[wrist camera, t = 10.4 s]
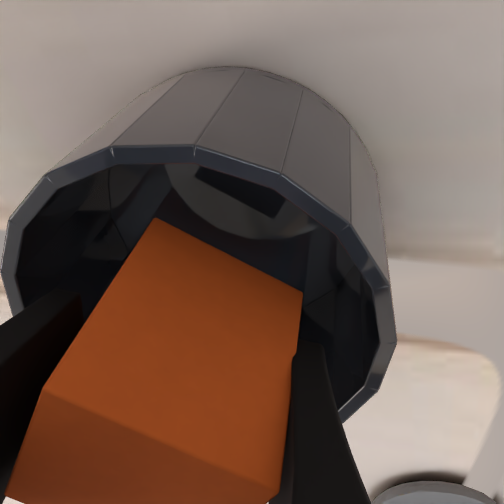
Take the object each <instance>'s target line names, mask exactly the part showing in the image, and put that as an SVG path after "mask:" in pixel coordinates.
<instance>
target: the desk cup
mask: <svg viewBox="0 0 504 504" xmlns="http://www.w3.org/2000/svg"><path fill="white" fill-rule="evenodd" d="M154 218H158V219H160V220H162V221H164V222H166V223H168V224H170V225H172V226H174V227H176V228H178V229H180V230H182V231H184V232H186V233H188V234H190V235H191V236H193V237H195V238H197V239H199V240H201V241H203V242H205V243H207V244H209V245H211V246H213V247H215V248H217V249H219V250H221V251H223V252H225V253H227V254H229V255H231V256H233V257H235V258H237V259H238V260H240V261H242V262H244V263H246V264H248V265H250V266H252V267H254V268H256V269H258V270H260V271H262V272H264V273H266V274H268V275H270V276H272V277H274V278H276V279H278V280H280V281H282V282H284V283H286V284H287V285H289V286H291V287H293V288H295V289H297V290H299V291H301V292H302V293H303V299H302V308H301V316H300V324H299V333H298V339H301V340H305V341H310V342H315V343H320V344H321V345H322V346H323V347H324V350H325V358H326V364H327V369H328V374H329V378H330V383H331V387H332V391H333V395H334V399H335V402H336V406H337V409H338V413H339V416H340V419H341V422H342V423H344V422H345V421H346V420H347V419H348V418H350V417H351V416H352V415H353V414H354V413H355V412H356V411H357V410H358V409H359V408H360V407H361V406H363V405H364V404H365V403H366V402H367V401H368V400H369V399H370V398H371V397H372V396H373V395H374V394H375V393H377V392H378V390H379V389H380V386H381V383H382V381H383V378H384V376H385V373H386V371H387V368H388V365H389V363H390V360H391V358H392V355H393V353H394V350H395V347H396V345H397V333H396V325H395V317H394V309H393V300H392V292H391V284H390V275H389V267H388V259H387V250H386V242H385V234H384V226H383V217H382V209H381V202H380V194H379V186H378V178H377V173H376V170H375V168H374V166H373V164H372V161H371V159H370V157H369V154H368V152H367V150H366V148H365V146H364V144H363V143H362V141H361V140H360V138H359V136H358V135H357V133H356V131H355V130H354V129H353V128H352V127H351V125H350V124H349V123H348V122H347V121H346V119H345V118H344V117H343V116H342V115H341V114H340V113H339V112H338V111H337V110H336V109H335V108H333V107H332V106H331V105H330V104H329V103H328V102H327V101H325V100H324V99H322V98H321V97H320V96H318V95H317V94H315V93H314V92H312V91H311V90H309V89H307V88H306V87H304V86H302V85H300V84H298V83H296V82H294V81H292V80H290V79H287V78H284V77H281V76H278V75H276V74H273V73H270V72H265V71H260V70H256V69H251V68H241V67H214V68H204V69H200V70H195V71H190V72H186V73H183V74H181V75H178V76H176V77H173V78H170V79H168V80H166V81H164V82H162V83H161V84H159V85H157V86H155V87H154V88H152V89H151V90H149V91H147V92H145V93H142V94H140V95H139V96H138V97H137V98H135V99H134V100H133V101H132V102H131V103H129V104H128V105H127V106H126V107H125V108H123V109H122V110H121V111H120V112H119V113H117V114H116V115H115V116H114V117H113V118H111V119H110V120H109V121H108V122H107V123H105V124H104V125H103V126H102V127H101V128H99V129H98V130H97V131H96V132H95V133H93V134H92V135H91V136H90V137H89V138H87V139H86V140H85V141H84V142H83V143H81V144H80V145H79V146H78V147H77V148H75V149H74V150H73V151H72V152H71V153H69V154H68V155H67V156H66V157H65V158H63V159H62V160H61V161H60V162H59V163H57V164H56V165H55V166H54V167H53V168H51V169H50V170H49V171H48V172H47V173H45V174H44V175H43V176H42V178H41V179H40V180H39V181H38V183H37V184H36V185H35V186H34V188H33V189H32V190H31V191H30V193H29V194H28V195H27V196H26V197H25V199H24V200H23V201H22V202H21V204H20V205H19V206H18V207H17V209H16V210H15V211H14V212H13V214H12V215H11V216H10V217H9V220H8V224H7V230H6V236H5V243H4V249H3V255H2V261H1V268H0V273H1V277H2V280H3V284H4V287H5V291H6V294H7V298H8V301H9V305H10V308H11V312H12V315H13V317H14V316H15V315H17V314H18V313H19V312H21V311H22V310H24V309H25V308H27V307H28V306H30V305H31V304H33V303H34V302H36V301H37V300H39V299H40V298H42V297H43V296H45V295H46V294H48V293H49V292H51V291H52V290H54V289H55V288H58V289H63V290H68V291H72V292H77V293H81V300H82V309H83V317H84V324H85V322H86V321H87V319H88V318H89V316H90V314H91V313H92V311H93V310H94V308H95V307H96V305H97V304H98V302H99V301H100V299H101V298H102V296H103V295H104V293H105V292H106V290H107V289H108V287H109V285H110V284H111V282H112V281H113V279H114V278H115V276H116V275H117V273H118V272H119V270H120V269H121V267H122V266H123V264H124V263H125V261H126V260H127V258H128V256H129V255H130V253H131V252H132V250H133V249H134V247H135V246H136V244H137V243H138V241H139V240H140V238H141V237H142V235H143V234H144V232H145V231H146V229H147V227H148V226H149V224H150V223H151V221H152V220H153V219H154Z"/></svg>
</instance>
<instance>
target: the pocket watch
mask: <svg viewBox="0 0 504 504" xmlns="http://www.w3.org/2000/svg"><path fill="white" fill-rule="evenodd" d="M372 504H497V503H496V502H495V501H493V500H492V499H491V498H489V497H488V496H486V495H485V494H484V493H482V492H479V491H476V490H474V489H471V488H468V487H466V486H463V485H460V484H455V483H448V482H442V481H418V482H410V483H403V484H400V485H397V486H394V487H392V488H389V489H387V490H385V491H384V492H383V493H381V494H380V495H378V496H377V497H376V498H375V499H374V501H373V502H372Z"/></svg>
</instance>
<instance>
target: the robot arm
mask: <svg viewBox="0 0 504 504" xmlns="http://www.w3.org/2000/svg"><path fill="white" fill-rule="evenodd" d="M83 325H84V317H83V309H82V300H81V293H77V292H72V291H68V290H63V289H58V288H55V289H54V290H52V291H51V292H49V293H48V294H46V295H45V296H43V297H42V298H40V299H39V300H37V301H36V302H34V303H33V304H31V305H30V306H28V307H27V308H25V309H24V310H22V311H21V312H19V313H18V314H17V315H15V316H14V317H12V318H11V319H9V320H8V321H6V322H5V323H3V324H2V325H0V504H2V503H3V501H4V499H5V497H6V496H5V495H4V493H5V489H6V487H7V484H8V481H9V479H10V476H11V473H12V470H13V468H14V465H15V462H16V459H17V457H18V454H19V451H20V448H21V446H22V443H23V440H24V437H25V435H26V432H27V429H28V426H29V424H30V421H31V418H32V415H33V413H34V410H35V407H36V405H37V402H38V399H39V396H40V394H41V391H42V388H43V386H44V385H45V383H46V382H47V380H48V379H49V377H50V375H51V374H52V372H53V371H54V369H55V368H56V366H57V365H58V363H59V362H60V360H61V359H62V357H63V356H64V354H65V353H66V351H67V350H68V348H69V346H70V345H71V343H72V342H73V340H74V339H75V337H76V336H77V334H78V333H79V331H80V330H81V328H82V327H83ZM269 504H371V501H370V499H369V497H368V494H367V492H366V489H365V487H364V484H363V482H362V479H361V477H360V474H359V471H358V469H357V466H356V464H355V461H354V458H353V456H352V453H351V450H350V447H349V444H348V441H347V438H346V435H345V432H344V429H343V426H342V422H341V419H340V416H339V413H338V409H337V406H336V402H335V399H334V395H333V391H332V387H331V383H330V378H329V374H328V369H327V364H326V358H325V350H324V347H323V346H322V345H321V344H320V343H315V342H310V341H305V340H301V339H298V341H297V350H296V353H295V355H294V356H293V358H292V366H291V400H290V409H289V417H288V426H287V434H286V442H285V451H284V459H283V468H282V476H281V485H280V491H279V493H278V494H277V495H276V496H275V497H273V498H272V499H271V500H270V501H269Z"/></svg>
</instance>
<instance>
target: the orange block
mask: <svg viewBox="0 0 504 504" xmlns="http://www.w3.org/2000/svg"><path fill="white" fill-rule="evenodd" d="M302 299H303V293H302V292H301V291H299V290H297V289H295V288H293V287H291V286H289V285H287V284H286V283H284V282H282V281H280V280H278V279H276V278H274V277H272V276H270V275H268V274H266V273H264V272H262V271H260V270H258V269H256V268H254V267H252V266H250V265H248V264H246V263H244V262H242V261H240V260H238V259H237V258H235V257H233V256H231V255H229V254H227V253H225V252H223V251H221V250H219V249H217V248H215V247H213V246H211V245H209V244H207V243H205V242H203V241H201V240H199V239H197V238H195V237H193V236H191V235H190V234H188V233H186V232H184V231H182V230H180V229H178V228H176V227H174V226H172V225H170V224H168V223H166V222H164V221H162V220H160V219H158V218H154V219H153V220H152V221H151V223H150V224H149V226H148V227H147V229H146V231H145V232H144V234H143V235H142V237H141V238H140V240H139V241H138V243H137V244H136V246H135V247H134V249H133V250H132V252H131V253H130V255H129V256H128V258H127V260H126V261H125V263H124V264H123V266H122V267H121V269H120V270H119V272H118V273H117V275H116V276H115V278H114V279H113V281H112V282H111V284H110V285H109V287H108V289H107V290H106V292H105V293H104V295H103V296H102V298H101V299H100V301H99V302H98V304H97V305H96V307H95V308H94V310H93V311H92V313H91V314H90V316H89V318H88V319H87V321H86V322H85V324H84V325H83V327H82V328H81V330H80V331H79V333H78V334H77V336H76V337H75V339H74V340H73V342H72V343H71V345H70V346H69V348H68V350H67V351H66V353H65V354H64V356H63V357H62V359H61V360H60V362H59V363H58V365H57V366H56V368H55V369H54V371H53V372H52V374H51V375H50V377H49V379H48V380H47V382H46V383H45V385H44V386H43V388H42V391H41V394H40V396H39V399H38V402H37V405H36V407H35V410H34V413H33V415H32V418H31V421H30V424H29V426H28V429H27V432H26V435H25V437H24V440H23V443H22V446H21V448H20V451H19V454H18V457H17V459H16V462H15V465H14V468H13V470H12V473H11V476H10V479H9V481H8V484H7V487H6V489H5V493H4V495H5V496H7V497H9V498H12V499H14V500H17V501H19V502H22V503H24V504H266V503H267V502H269V501H270V500H271V499H272V498H273V497H275V496H276V495H277V494H278V493H279V491H280V485H281V476H282V468H283V459H284V451H285V442H286V434H287V426H288V417H289V409H290V400H291V366H292V358H293V356H294V355H295V353H296V350H297V341H298V333H299V324H300V316H301V308H302Z"/></svg>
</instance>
